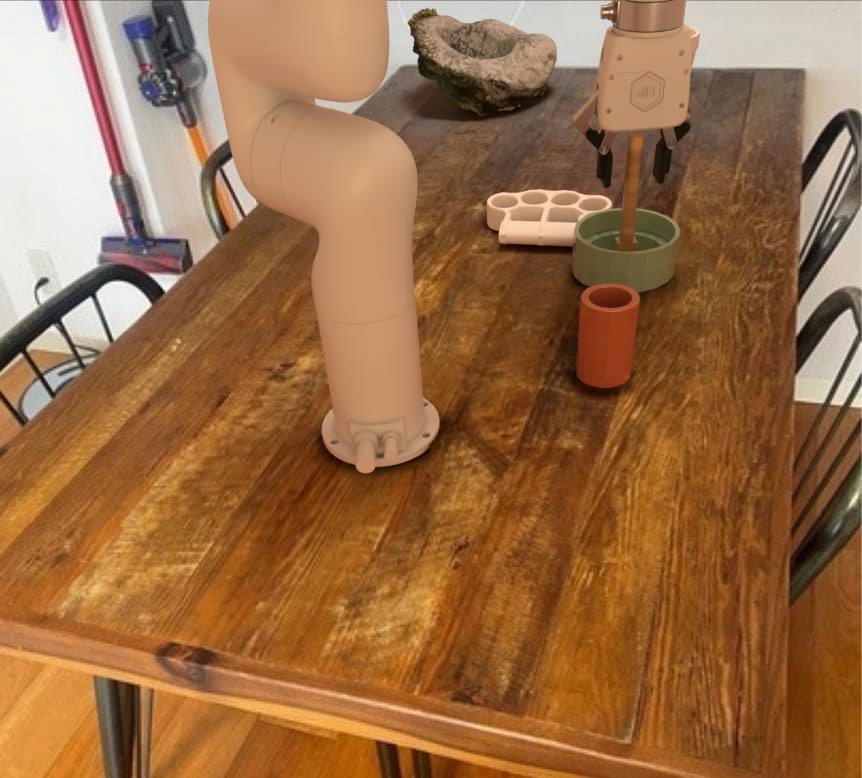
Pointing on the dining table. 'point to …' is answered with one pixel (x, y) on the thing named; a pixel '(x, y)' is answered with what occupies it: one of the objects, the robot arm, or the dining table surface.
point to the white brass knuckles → (541, 215)
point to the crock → (607, 334)
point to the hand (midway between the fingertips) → (631, 180)
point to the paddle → (630, 194)
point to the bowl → (633, 268)
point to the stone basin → (482, 60)
